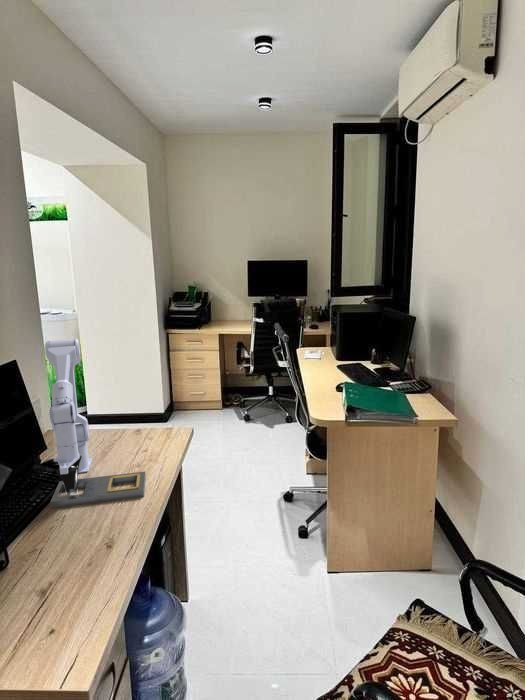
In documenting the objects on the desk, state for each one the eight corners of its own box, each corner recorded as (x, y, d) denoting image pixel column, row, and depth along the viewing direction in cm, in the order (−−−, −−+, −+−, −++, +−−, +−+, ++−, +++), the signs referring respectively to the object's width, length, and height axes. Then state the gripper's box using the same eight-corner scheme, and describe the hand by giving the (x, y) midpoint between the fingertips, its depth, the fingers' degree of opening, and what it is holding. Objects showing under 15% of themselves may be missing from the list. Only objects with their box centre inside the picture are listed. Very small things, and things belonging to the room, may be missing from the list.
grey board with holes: (60, 487, 144) (59, 480, 144) (145, 477, 149) (145, 470, 149) (51, 508, 133) (50, 500, 132) (144, 496, 138) (143, 489, 137)
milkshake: (77, 500, 137) (72, 469, 134) (60, 498, 138) (56, 468, 135) (85, 491, 141) (81, 462, 139) (70, 490, 142) (65, 460, 140)
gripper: (57, 434, 142) (63, 474, 145) (45, 455, 128) (52, 499, 131) (81, 432, 143) (86, 472, 146) (72, 452, 129) (78, 496, 132)
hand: (72, 484), depth 139 cm, fingers closed on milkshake, 4 cm apart
